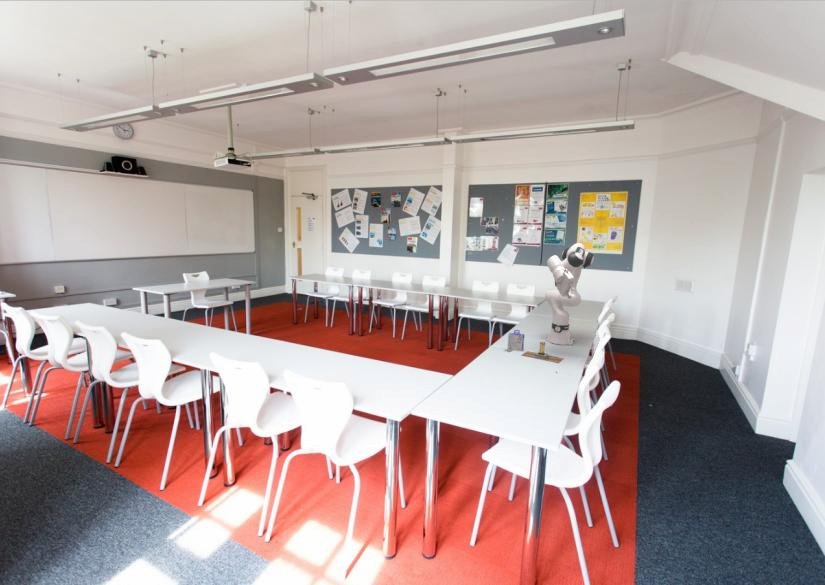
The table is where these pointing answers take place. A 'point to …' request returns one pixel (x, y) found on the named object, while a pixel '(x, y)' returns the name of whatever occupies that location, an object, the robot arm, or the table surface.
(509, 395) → the table surface
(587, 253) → the robot arm
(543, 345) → the brass copper-topped peg
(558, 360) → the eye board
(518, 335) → the ink cartridge box
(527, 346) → the table surface
